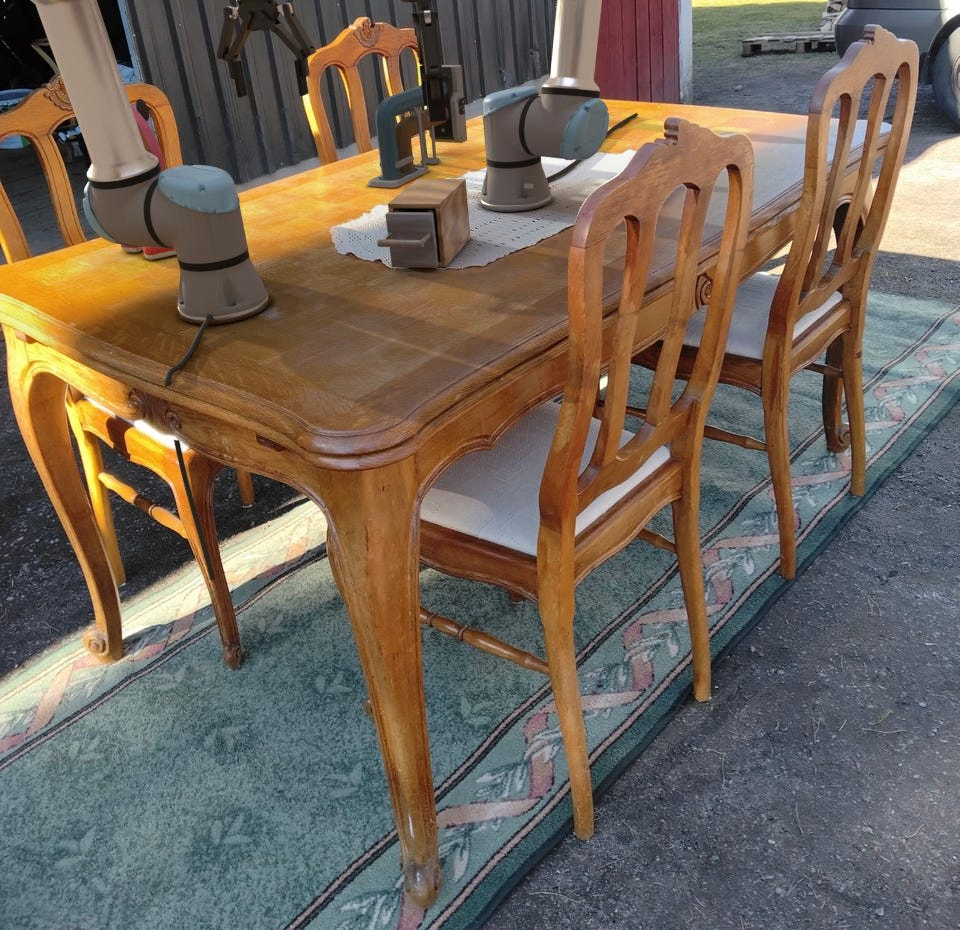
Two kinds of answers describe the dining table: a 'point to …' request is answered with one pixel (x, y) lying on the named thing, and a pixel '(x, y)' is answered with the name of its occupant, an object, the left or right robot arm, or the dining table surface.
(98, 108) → the left robot arm
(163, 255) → the toy
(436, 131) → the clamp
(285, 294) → the dining table surface
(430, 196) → the cabinet
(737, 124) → the dining table surface
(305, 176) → the dining table surface
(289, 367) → the dining table surface
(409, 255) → the drawer
